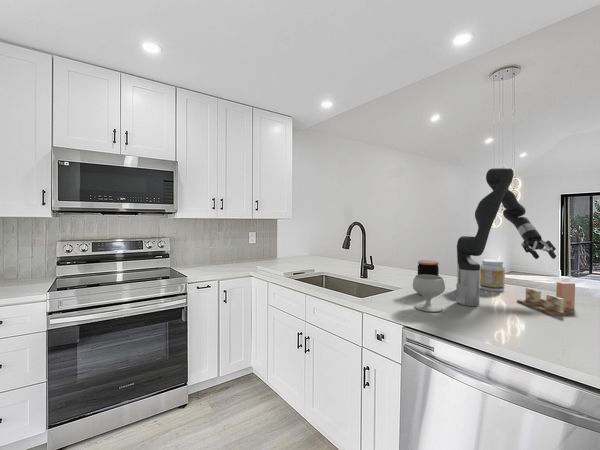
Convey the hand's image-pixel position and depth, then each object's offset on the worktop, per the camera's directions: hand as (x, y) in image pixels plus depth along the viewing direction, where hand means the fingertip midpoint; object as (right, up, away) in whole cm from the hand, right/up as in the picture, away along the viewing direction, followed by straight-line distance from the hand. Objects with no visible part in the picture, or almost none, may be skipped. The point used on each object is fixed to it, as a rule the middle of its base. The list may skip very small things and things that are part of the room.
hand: (546, 258), depth 152 cm
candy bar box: (-31, -22, +19) cm, 42 cm away
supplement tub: (-12, -21, +25) cm, 35 cm away
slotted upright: (0, -22, -11) cm, 25 cm away
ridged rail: (-10, -22, -11) cm, 27 cm away
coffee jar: (-54, -22, +15) cm, 60 cm away
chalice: (-64, -23, -11) cm, 69 cm away
